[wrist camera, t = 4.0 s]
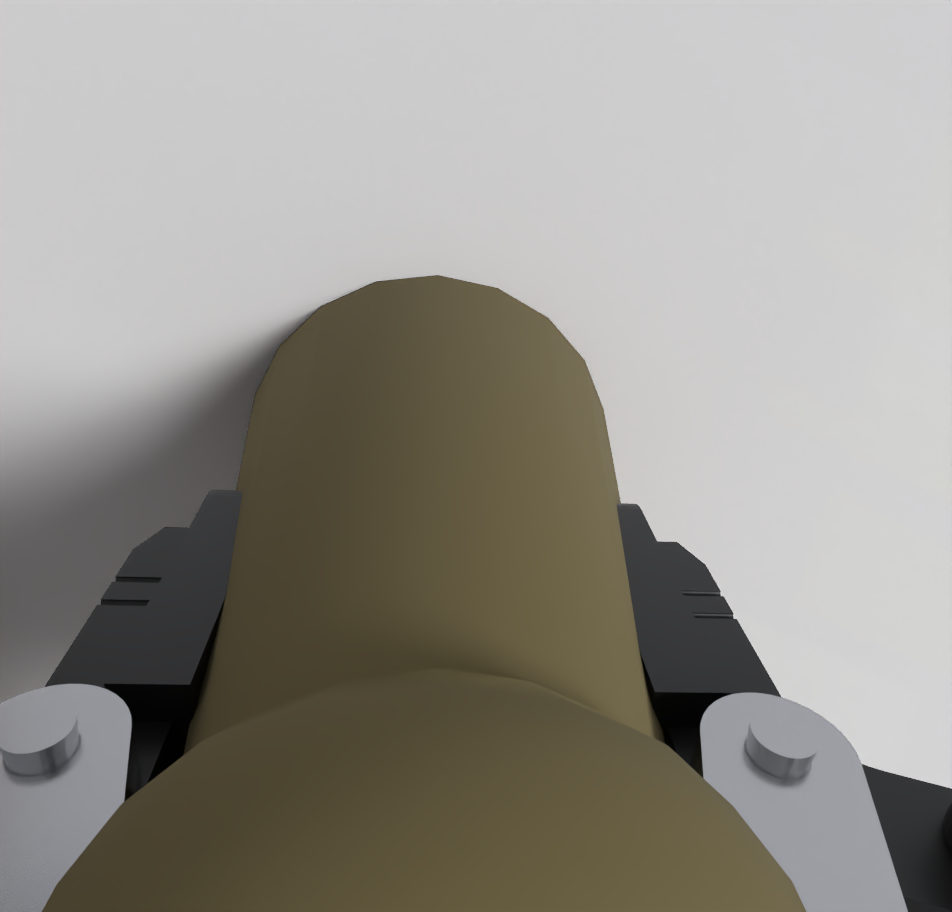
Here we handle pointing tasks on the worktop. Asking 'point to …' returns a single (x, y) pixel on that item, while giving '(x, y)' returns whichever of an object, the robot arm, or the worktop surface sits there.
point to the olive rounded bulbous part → (426, 652)
